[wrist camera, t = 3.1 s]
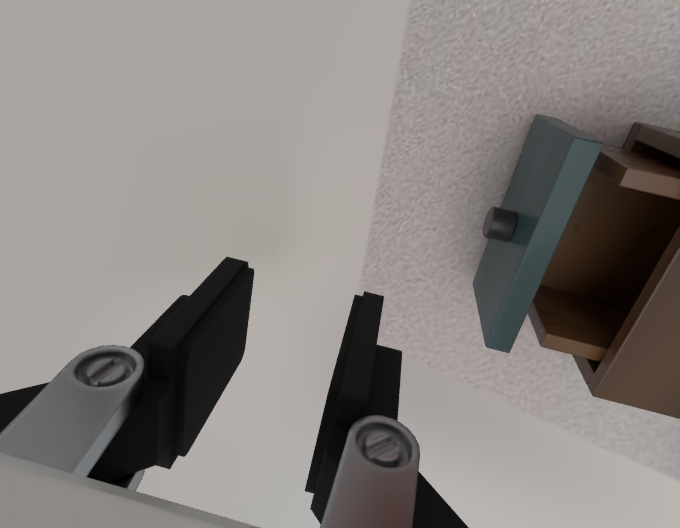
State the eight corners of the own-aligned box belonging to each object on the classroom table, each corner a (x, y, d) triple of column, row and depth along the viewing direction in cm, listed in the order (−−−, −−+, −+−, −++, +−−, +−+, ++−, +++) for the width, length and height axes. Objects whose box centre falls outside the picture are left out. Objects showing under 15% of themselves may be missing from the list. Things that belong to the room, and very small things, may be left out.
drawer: (453, 279, 29) (461, 341, 23) (512, 108, 24) (543, 129, 18) (675, 334, 28) (745, 414, 22) (782, 168, 23) (909, 211, 17)
